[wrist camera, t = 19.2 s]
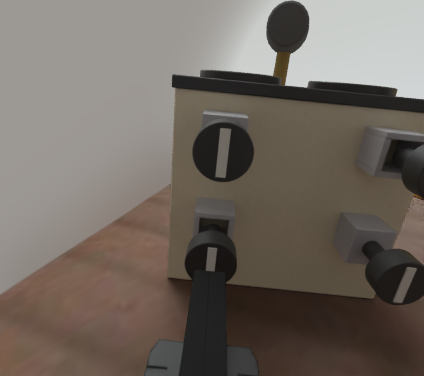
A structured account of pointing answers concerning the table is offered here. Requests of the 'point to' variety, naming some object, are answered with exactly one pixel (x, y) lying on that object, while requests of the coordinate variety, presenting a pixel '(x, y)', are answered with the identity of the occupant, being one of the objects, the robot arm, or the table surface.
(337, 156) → the stove
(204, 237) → the knob bottom left
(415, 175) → the knob top right
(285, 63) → the rubber mallet
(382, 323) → the table surface
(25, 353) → the table surface
